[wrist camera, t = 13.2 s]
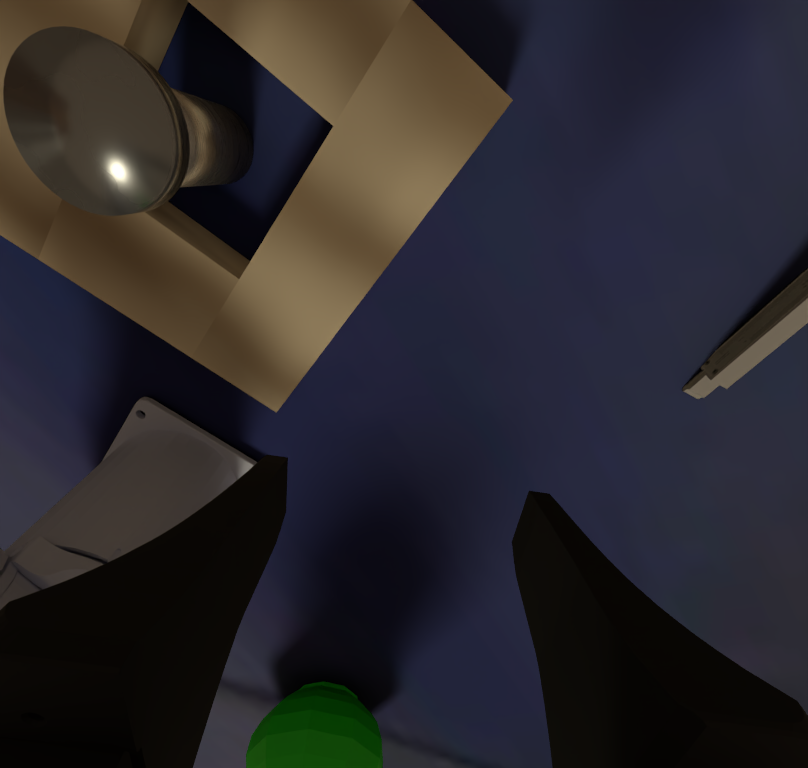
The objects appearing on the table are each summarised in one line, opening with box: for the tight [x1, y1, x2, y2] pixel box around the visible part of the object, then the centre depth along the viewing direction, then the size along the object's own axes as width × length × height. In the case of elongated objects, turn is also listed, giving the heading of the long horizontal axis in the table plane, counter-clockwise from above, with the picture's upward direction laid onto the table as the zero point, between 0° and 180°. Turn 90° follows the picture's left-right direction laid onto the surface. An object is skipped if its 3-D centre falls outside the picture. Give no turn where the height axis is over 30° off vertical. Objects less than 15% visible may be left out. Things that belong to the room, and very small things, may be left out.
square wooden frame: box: [0, 0, 512, 412], centre depth 17 cm, size 16×16×2 cm
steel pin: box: [3, 26, 253, 216], centre depth 15 cm, size 4×4×8 cm
